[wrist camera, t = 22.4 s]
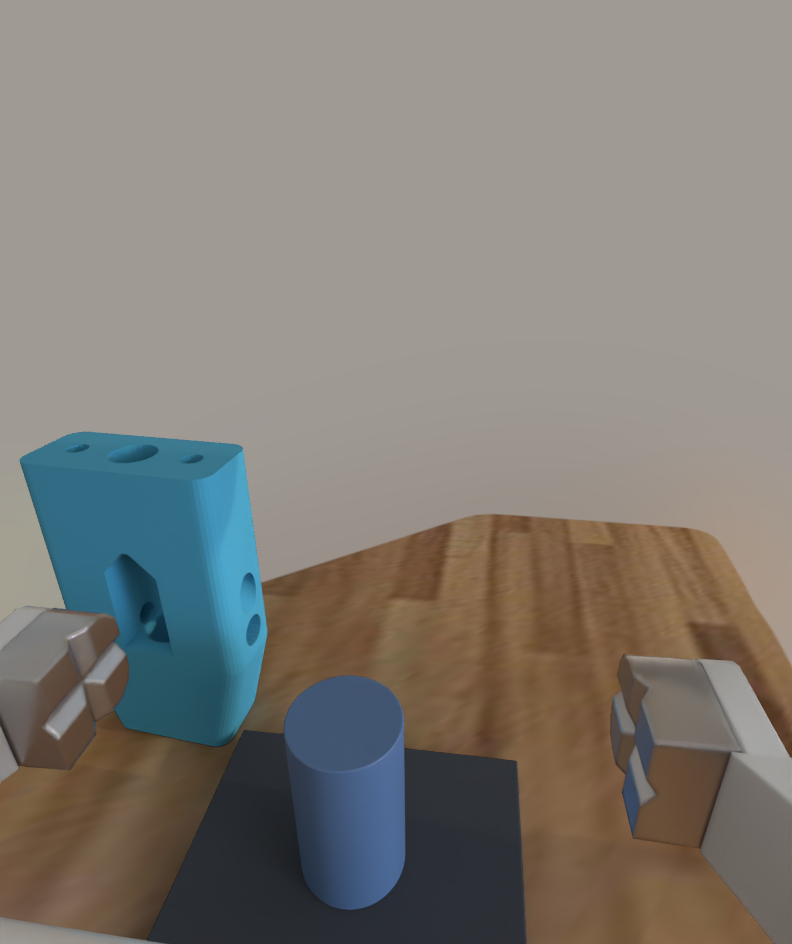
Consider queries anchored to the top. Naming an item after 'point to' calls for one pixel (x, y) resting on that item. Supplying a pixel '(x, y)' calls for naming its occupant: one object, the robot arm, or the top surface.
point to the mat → (398, 913)
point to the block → (160, 570)
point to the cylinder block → (348, 789)
